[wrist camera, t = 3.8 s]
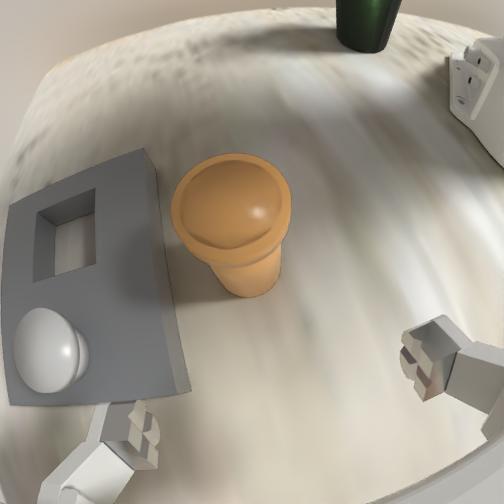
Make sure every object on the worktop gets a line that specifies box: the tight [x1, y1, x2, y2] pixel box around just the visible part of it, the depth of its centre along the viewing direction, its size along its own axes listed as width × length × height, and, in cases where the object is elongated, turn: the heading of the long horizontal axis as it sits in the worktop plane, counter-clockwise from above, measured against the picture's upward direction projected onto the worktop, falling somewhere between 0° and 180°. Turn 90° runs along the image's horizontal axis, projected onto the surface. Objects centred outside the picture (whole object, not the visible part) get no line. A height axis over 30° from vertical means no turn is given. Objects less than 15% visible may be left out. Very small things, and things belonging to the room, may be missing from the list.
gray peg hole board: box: [1, 148, 192, 406], centre depth 19 cm, size 18×15×6 cm
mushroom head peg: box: [171, 153, 291, 298], centre depth 17 cm, size 5×5×9 cm
